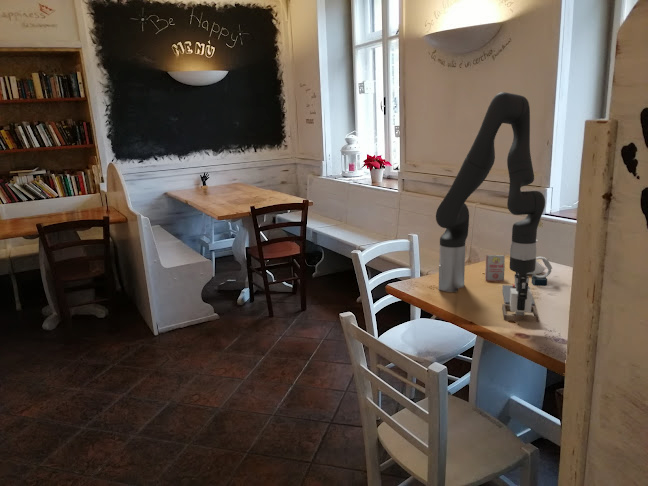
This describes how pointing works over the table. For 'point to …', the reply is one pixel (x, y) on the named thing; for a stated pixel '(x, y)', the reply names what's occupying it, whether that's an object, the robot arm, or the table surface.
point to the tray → (519, 317)
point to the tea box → (495, 267)
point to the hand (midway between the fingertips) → (520, 306)
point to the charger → (514, 299)
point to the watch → (541, 279)
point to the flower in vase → (538, 266)
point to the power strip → (507, 294)
